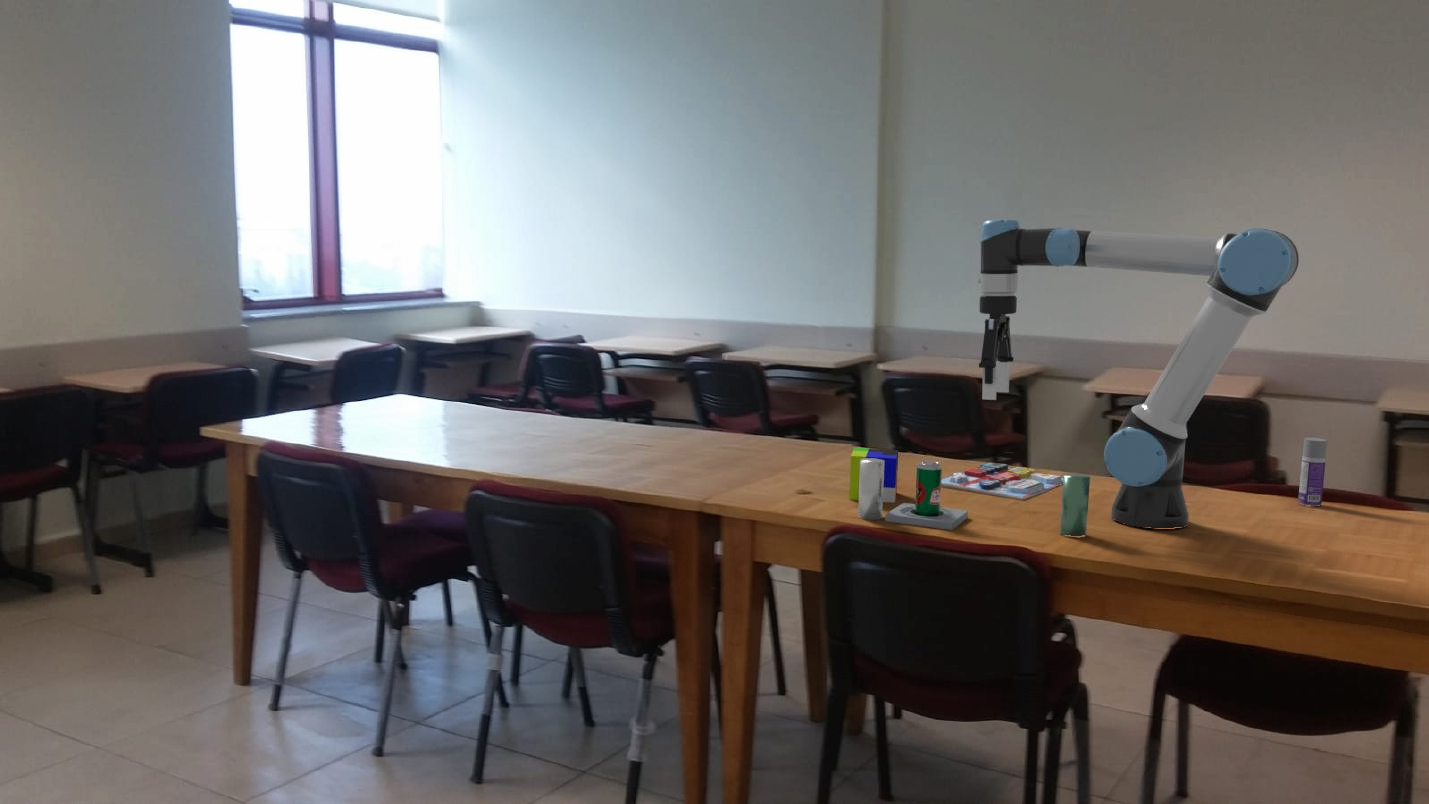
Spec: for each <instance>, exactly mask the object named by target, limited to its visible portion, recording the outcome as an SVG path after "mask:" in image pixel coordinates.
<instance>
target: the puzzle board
mask: <svg viewBox="0 0 1429 804" xmlns="http://www.w3.org/2000/svg"><path fill="white" fill-rule="evenodd" d="M1027 468H1028V467H1023V466H1016V467H1013V468H1011V467H1009V464H1006V463H995V462H988V463H982V464H980V465H979V466H977V468H972V467H971V468H968V469H965V470H964V471H962V472H954V473H953V475H949V476H946V477H943V478H942V477H941V488H944V489H950V490H957V491H964V492H969V493H975V494H981V495H988V496H994V497H998V498H1004V499H1011V500H1018V501H1026V500H1029V499H1031V498H1033V497H1036V496H1038V494H1039V495H1041V494H1043V493H1045V492H1048V491H1051V490H1053V489H1055V488H1054V487H1056V486H1058V487H1060V486H1059V485H1061V486H1063V485H1062V484H1063V476H1061V475H1055V474H1047V473H1041V472H1036V469H1035V468H1030V467H1029V469H1027ZM1052 488H1053V489H1052ZM1056 488H1057V487H1056ZM1050 489H1051V490H1050Z"/></svg>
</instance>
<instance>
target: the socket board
mask: <svg viewBox="0 0 1429 804" xmlns="http://www.w3.org/2000/svg"><path fill="white" fill-rule="evenodd" d="M968 514H969V510H965V509H956V508H951V507H950V508H948V507H942V506H940V516H936V517H927V516H919V515H915V503H910V502H908V503H907V502H903V503H901V504H900V505H898V506H896V507H895V508H893V509H891V510H890V511H888V512H887V513H885V520H884V521H885V522H888V523H895V524H904V525H909V526H918V527H926V528H931V529H939V530H947V531H953V530H954V529H956V528H957V527H958V526H959V525H960V524H962V523H963V522H965V520H967V519H968V518H969V515H968Z"/></svg>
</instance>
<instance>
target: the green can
mask: <svg viewBox="0 0 1429 804" xmlns="http://www.w3.org/2000/svg"><path fill="white" fill-rule="evenodd" d="M1062 477H1063V485H1062V493H1061V510H1060V512H1061V513H1060V527H1059V534H1060V533H1061V534H1062V535H1071V536H1082V535H1086V536H1087V527H1088V526H1087V525H1088V514H1089V511H1088V510H1089V500H1090V487H1091V486H1090V484H1091V482H1090V481H1091V476H1090V475H1088V474H1084V473H1075V472H1073V473H1071V472H1069V473H1068V472H1067V473H1064V474H1063V476H1062ZM1062 535H1061V536H1062Z"/></svg>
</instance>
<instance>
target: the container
mask: <svg viewBox="0 0 1429 804" xmlns="http://www.w3.org/2000/svg"><path fill="white" fill-rule="evenodd" d="M1327 443H1328V441H1327V439H1325V438H1319V437H1304V440H1303V449H1302V450H1303V451H1302V457H1301V458H1302V459H1301V466H1300V478H1299V480H1300V481H1299V489H1298V498H1297V499H1298V501H1297V503H1298V502H1299V503H1302V504H1304V505H1311V506H1318V505H1321V506H1322V502H1323V500H1322V499H1323V491H1324V480H1325V472H1326V471H1325V470H1326V460H1327V459H1326V458H1327Z"/></svg>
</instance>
